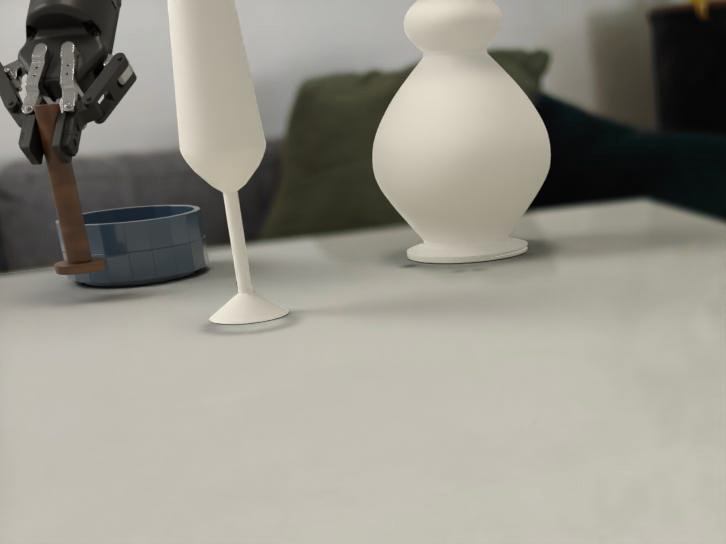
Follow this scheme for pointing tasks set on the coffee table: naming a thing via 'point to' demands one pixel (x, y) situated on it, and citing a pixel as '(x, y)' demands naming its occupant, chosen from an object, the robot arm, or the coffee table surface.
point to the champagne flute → (219, 126)
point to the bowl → (144, 244)
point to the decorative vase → (460, 139)
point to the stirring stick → (65, 201)
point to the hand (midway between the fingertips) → (46, 156)
